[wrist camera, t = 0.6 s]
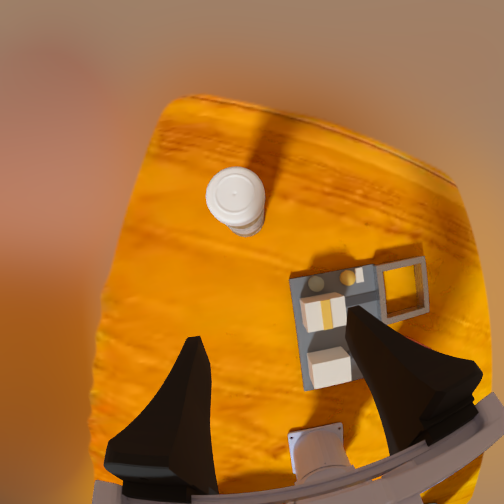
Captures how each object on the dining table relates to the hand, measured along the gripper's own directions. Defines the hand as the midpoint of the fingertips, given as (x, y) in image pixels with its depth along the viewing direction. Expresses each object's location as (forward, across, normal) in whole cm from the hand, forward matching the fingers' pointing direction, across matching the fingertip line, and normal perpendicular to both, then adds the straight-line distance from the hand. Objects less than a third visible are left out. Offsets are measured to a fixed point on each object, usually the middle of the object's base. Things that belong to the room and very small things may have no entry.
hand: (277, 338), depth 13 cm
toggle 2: (+12, -7, +18) cm, 23 cm away
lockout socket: (+16, -18, +12) cm, 27 cm away
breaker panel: (+15, -10, +15) cm, 23 cm away
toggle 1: (+16, -7, +12) cm, 21 cm away
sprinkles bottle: (+23, 0, +2) cm, 23 cm away
